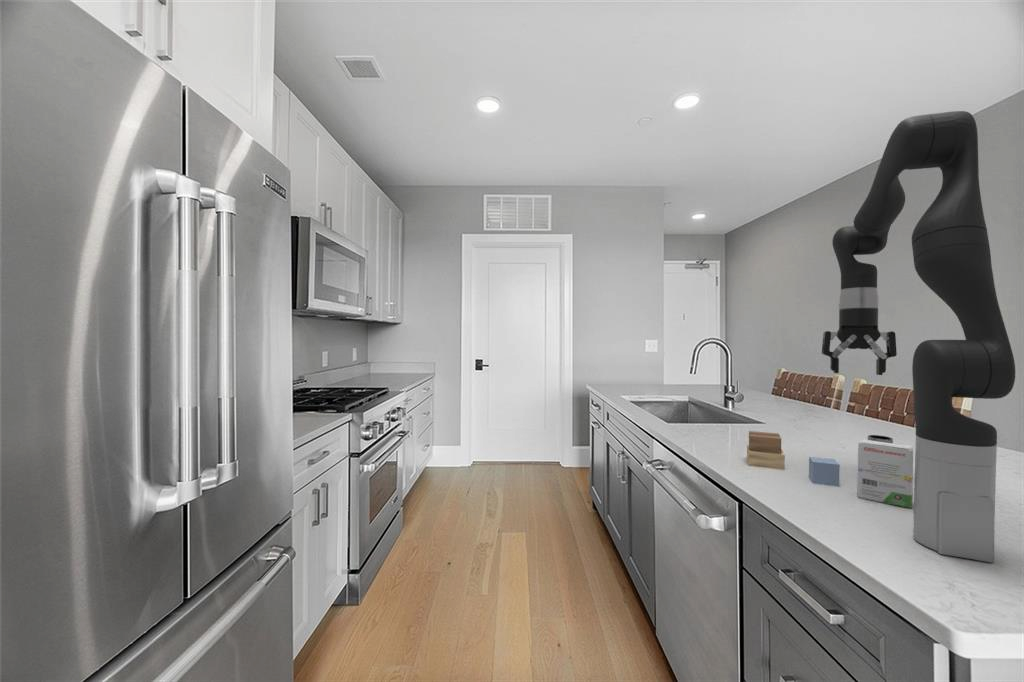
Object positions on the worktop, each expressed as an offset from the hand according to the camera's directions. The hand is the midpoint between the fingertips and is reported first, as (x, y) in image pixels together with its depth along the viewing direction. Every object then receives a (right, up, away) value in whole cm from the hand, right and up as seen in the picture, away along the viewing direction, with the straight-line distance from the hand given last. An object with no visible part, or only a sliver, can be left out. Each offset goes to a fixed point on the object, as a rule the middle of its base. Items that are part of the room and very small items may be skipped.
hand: (857, 374), depth 108 cm
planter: (+2, -25, -4) cm, 25 cm away
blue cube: (-12, -25, -5) cm, 28 cm away
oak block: (-17, -25, +9) cm, 32 cm away
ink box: (-7, -25, -17) cm, 31 cm away
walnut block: (-18, -21, +9) cm, 29 cm away
